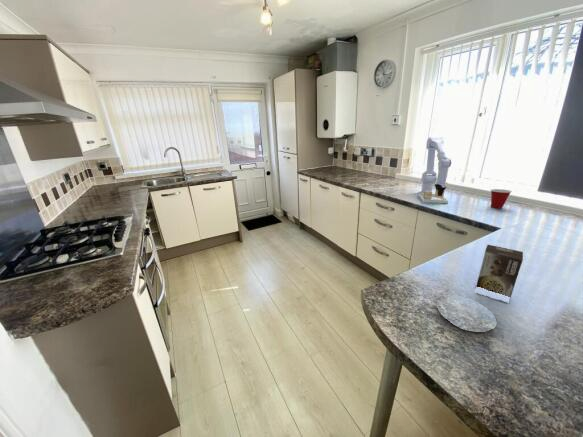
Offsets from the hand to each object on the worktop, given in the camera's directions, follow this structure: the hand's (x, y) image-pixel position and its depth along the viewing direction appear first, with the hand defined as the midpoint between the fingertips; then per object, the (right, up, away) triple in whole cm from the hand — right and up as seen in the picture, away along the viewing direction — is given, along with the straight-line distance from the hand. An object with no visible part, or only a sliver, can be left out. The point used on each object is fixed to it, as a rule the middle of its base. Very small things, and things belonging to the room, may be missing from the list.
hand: (438, 194), depth 178 cm
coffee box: (-41, -43, -96) cm, 113 cm away
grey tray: (-2, -3, +5) cm, 6 cm away
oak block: (-4, -2, +8) cm, 9 cm away
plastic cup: (+30, -10, -15) cm, 35 cm away
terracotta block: (0, -1, 0) cm, 2 cm away
